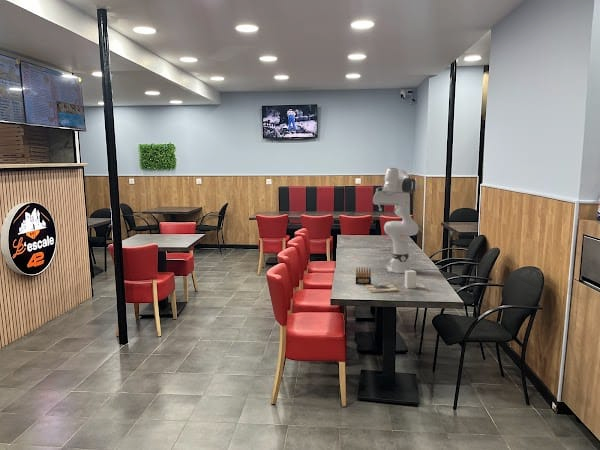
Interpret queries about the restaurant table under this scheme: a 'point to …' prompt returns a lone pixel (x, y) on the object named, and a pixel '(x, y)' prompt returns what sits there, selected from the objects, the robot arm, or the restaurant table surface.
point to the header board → (381, 288)
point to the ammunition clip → (363, 276)
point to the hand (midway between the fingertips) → (387, 211)
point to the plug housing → (410, 279)
